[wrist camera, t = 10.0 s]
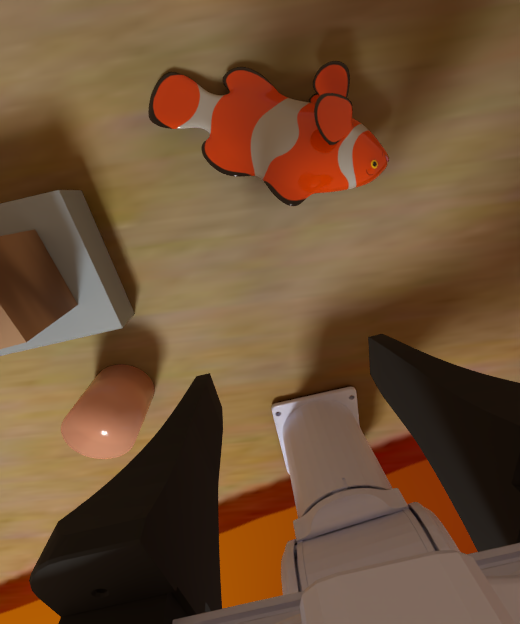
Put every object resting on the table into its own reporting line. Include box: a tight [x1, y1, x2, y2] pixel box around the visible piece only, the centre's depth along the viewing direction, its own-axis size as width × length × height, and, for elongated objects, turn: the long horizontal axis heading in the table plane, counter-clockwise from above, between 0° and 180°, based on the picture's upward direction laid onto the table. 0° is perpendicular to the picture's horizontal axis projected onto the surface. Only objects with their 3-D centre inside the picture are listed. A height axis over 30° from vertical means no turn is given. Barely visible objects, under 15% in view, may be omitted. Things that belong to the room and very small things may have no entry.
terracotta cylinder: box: [61, 364, 154, 459], centre depth 22 cm, size 5×5×5 cm
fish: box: [149, 61, 389, 206], centre depth 16 cm, size 13×5×9 cm
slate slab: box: [0, 190, 135, 356], centre depth 19 cm, size 9×9×3 cm
